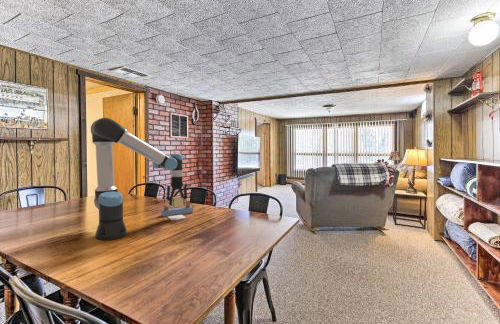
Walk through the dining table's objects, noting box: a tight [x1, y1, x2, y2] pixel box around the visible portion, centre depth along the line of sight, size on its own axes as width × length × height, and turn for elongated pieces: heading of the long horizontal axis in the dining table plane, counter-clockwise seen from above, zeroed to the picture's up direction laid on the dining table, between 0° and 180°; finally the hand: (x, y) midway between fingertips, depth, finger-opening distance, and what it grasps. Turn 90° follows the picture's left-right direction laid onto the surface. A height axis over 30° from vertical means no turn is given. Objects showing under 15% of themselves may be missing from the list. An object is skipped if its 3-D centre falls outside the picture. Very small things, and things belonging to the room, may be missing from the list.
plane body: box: [160, 200, 194, 218], centre depth 187 cm, size 5×22×9 cm, turn 126°
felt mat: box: [167, 214, 187, 221], centre depth 176 cm, size 9×10×1 cm
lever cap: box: [172, 195, 185, 208], centre depth 176 cm, size 6×8×6 cm
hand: (177, 209), depth 176 cm, fingers closed on lever cap, 6 cm apart
